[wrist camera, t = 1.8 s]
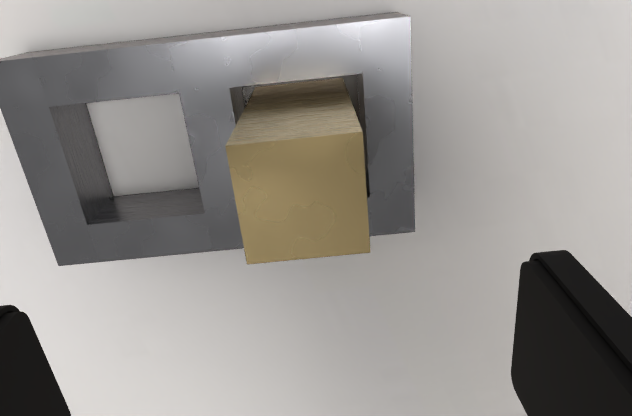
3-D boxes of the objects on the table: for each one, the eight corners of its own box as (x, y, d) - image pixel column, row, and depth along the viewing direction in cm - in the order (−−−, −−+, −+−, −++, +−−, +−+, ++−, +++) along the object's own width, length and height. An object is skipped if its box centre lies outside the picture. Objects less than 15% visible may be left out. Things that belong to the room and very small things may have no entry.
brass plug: (342, 77, 25) (362, 131, 16) (349, 160, 27) (370, 252, 17) (255, 87, 25) (225, 145, 16) (268, 168, 27) (247, 264, 18)
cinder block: (396, 12, 23) (410, 16, 20) (402, 203, 28) (415, 231, 24) (27, 52, 24) (-17, 62, 21) (87, 233, 28) (58, 265, 25)
